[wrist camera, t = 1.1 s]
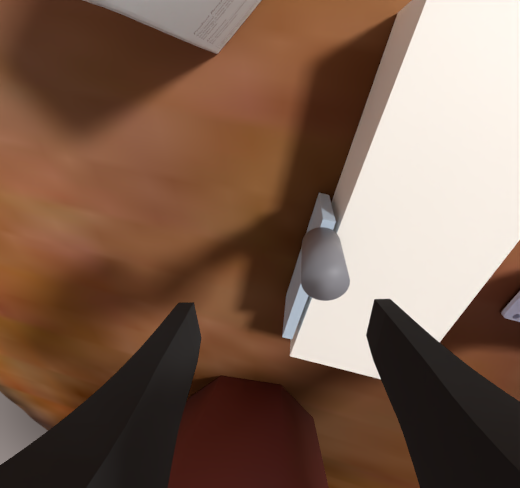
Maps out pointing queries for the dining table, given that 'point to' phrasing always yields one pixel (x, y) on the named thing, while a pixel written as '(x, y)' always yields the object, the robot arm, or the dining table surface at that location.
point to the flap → (316, 266)
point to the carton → (426, 178)
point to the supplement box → (188, 18)
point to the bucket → (246, 439)
